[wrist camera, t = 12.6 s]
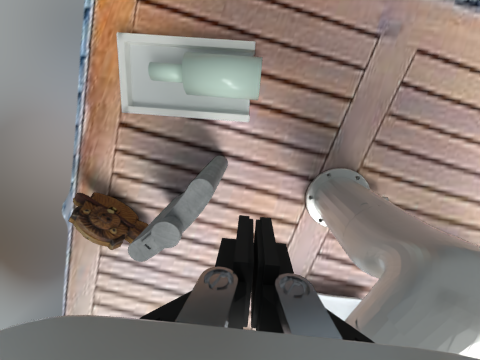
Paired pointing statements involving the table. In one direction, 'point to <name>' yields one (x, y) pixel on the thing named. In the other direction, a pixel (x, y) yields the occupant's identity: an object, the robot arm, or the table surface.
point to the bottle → (212, 75)
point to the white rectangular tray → (172, 93)
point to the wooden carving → (105, 220)
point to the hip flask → (179, 213)
